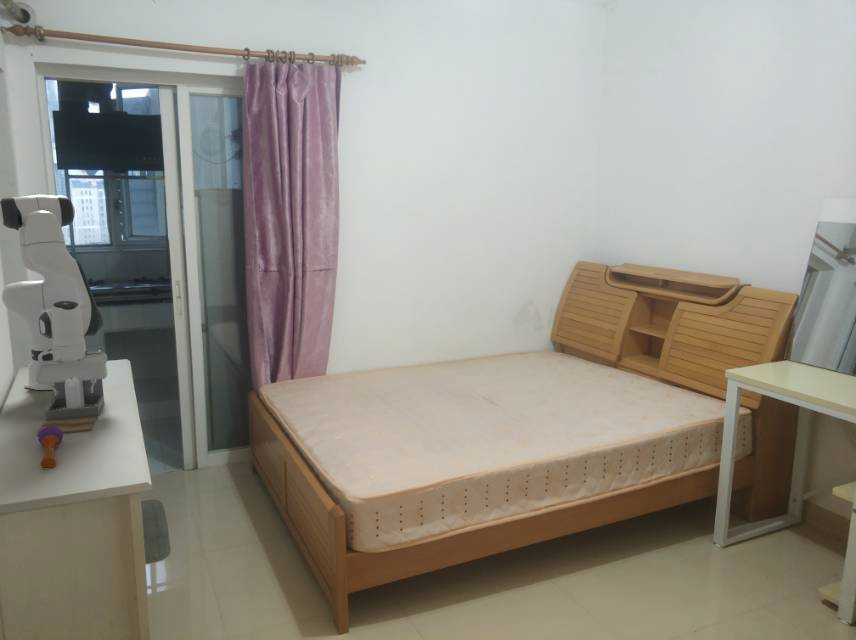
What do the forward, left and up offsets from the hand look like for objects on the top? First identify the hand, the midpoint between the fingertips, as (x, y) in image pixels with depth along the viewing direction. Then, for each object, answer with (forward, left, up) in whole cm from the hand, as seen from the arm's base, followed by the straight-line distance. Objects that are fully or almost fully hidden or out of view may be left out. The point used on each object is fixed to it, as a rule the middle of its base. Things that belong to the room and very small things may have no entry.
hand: (74, 394), depth 208 cm
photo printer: (0, 0, -6) cm, 6 cm away
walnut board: (+15, 0, -6) cm, 16 cm away
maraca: (+38, -1, -6) cm, 39 cm away
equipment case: (0, 0, -6) cm, 6 cm away
